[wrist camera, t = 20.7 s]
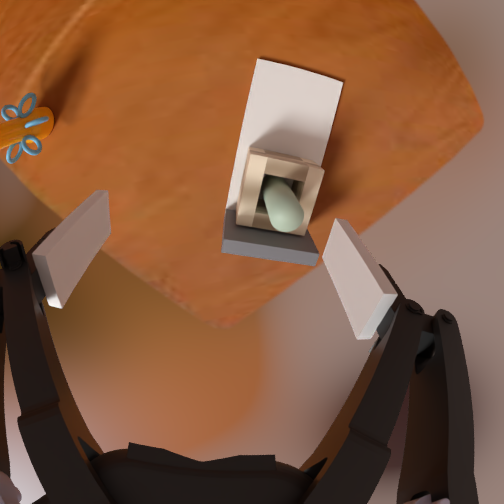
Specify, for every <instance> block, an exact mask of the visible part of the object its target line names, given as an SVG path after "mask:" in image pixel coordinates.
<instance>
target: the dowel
mask: <svg viewBox="0 0 504 504" xmlns="http://www.w3.org/2000/svg"><path fill="white" fill-rule="evenodd" d="M261 191H262V194H263V197H264V201H265V204H266V208H267V211H268V214H269V218H270V221H271V224H272V226H273V227H274V228H275V229H277V230H279V231H282V232H290V231H293V230H295V229H297V228H298V227H299V226H300V225H301V224H302V222H303V219H304V211H303V209H302V207H301V205H300V203H299V202H298V200H297V198H296V197H295V195H294V193H293V192H292V190H291V188H290V187H289V185H288V183H287V182H286V180H285V179H284V177H279V176H274V175H269V174H267V175H265V176H264V177H263V180H262V184H261Z"/></svg>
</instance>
